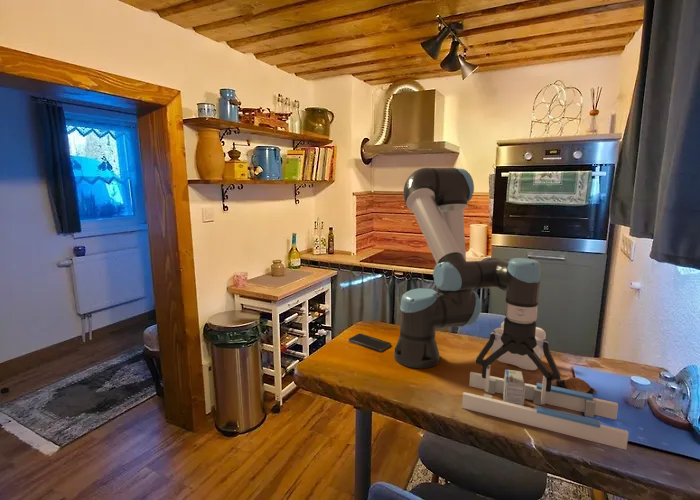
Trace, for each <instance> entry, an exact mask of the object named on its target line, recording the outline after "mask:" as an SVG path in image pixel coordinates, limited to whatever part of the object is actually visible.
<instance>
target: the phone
mask: <svg viewBox="0 0 700 500" xmlns="http://www.w3.org/2000/svg"><path fill="white" fill-rule="evenodd" d="M348 343H352V344H354V345H357V346H360V347H363V348H365V349H368V350H372V351H374V352H378V353H382V352H384V351H385V350H387V349H389V348H391V347H392V343H391V342H389V341H386V340H383V339H379V338H376V337H374V336H370V335H368V334H364V333H357V334H355V335H353V336H351V337H350V338H348Z"/></svg>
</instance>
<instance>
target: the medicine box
mask: <svg viewBox="0 0 700 500" xmlns="http://www.w3.org/2000/svg"><path fill="white" fill-rule="evenodd" d="M503 379H504V390H503V394H502V397H503V400H502V401H504V402H508V403H512V404H517V405H521V406H525V399H524V396H525V383H526V382H525V378H524V376H523V372H522V371H520V370H514V369H513V370H512V369H504V377H503Z"/></svg>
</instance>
